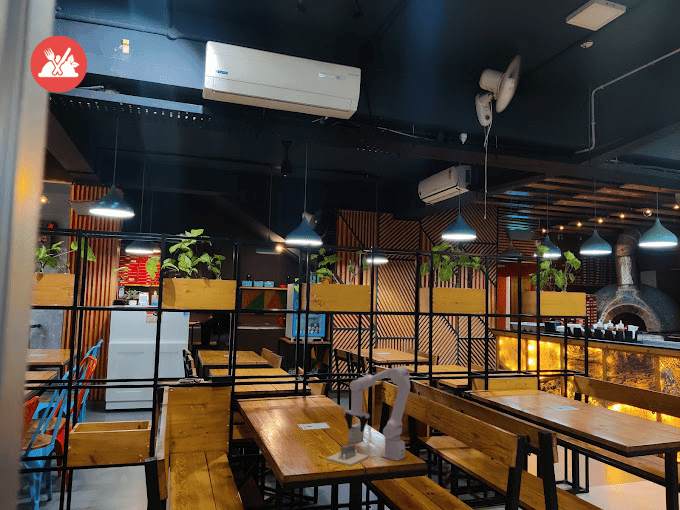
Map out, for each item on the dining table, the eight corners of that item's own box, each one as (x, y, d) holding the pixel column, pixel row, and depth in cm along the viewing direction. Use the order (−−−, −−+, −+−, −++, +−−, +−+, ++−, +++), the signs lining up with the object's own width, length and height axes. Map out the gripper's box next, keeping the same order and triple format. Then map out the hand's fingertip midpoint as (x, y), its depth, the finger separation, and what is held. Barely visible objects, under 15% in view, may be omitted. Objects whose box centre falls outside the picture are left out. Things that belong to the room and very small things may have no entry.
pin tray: (368, 457, 244) (368, 450, 245) (350, 466, 231) (350, 458, 232) (345, 452, 253) (345, 444, 253) (326, 460, 239) (326, 452, 240)
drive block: (354, 455, 244) (355, 444, 244) (346, 459, 238) (347, 448, 239) (349, 454, 246) (349, 443, 246) (340, 457, 240) (341, 446, 241)
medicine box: (357, 439, 276) (357, 423, 277) (363, 440, 273) (363, 424, 274) (348, 442, 270) (348, 425, 270) (354, 444, 267) (355, 427, 268)
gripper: (340, 402, 261) (340, 429, 260) (364, 406, 253) (363, 434, 252) (348, 400, 267) (347, 426, 266) (371, 404, 259) (371, 431, 258)
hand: (356, 430), depth 259 cm, fingers open, 7 cm apart
